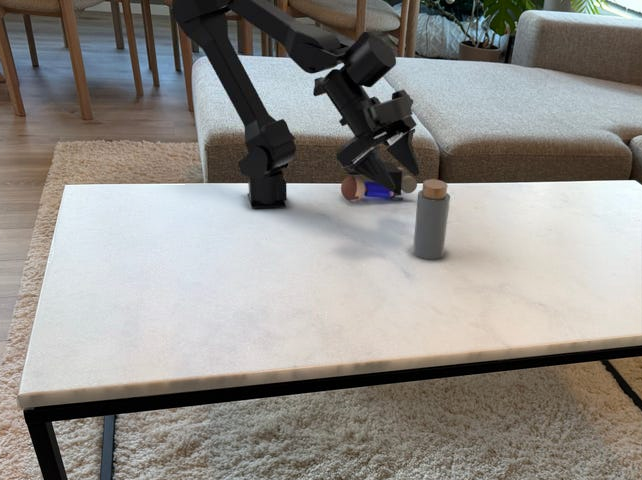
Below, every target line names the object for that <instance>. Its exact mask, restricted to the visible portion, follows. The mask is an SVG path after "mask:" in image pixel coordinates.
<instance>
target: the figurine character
mask: <svg viewBox="0 0 642 480" xmlns="http://www.w3.org/2000/svg"><path fill="white" fill-rule="evenodd" d="M382 163H383V165H384V166H385V168H386V170H387V172H388V173H389V175H390V177H391V179H392V181H393V183H394V185H395V187H396V188H395V189H394V190H393V191H389V190H388V189H386V188H384V187H383V186H381V185H379V184H378V183H376V182H374V181H368V180H367V181H363V179H361V178H360V177H358V176H363V175H362V174H360V173H358V172H356V171H354V170H350V169H349V168H350V167H351V166H352V165H353V164H354V163H353V164H351V165H350V166H348V167H346V168H344V169H343V167H342V166H341V165H340V164H339V166H340V167H341V168H342V169H343V170H344V171H345V172H346V173H347V174H348V175H349V176H347V177H346V178H344V179H343V181H342V182H341V184H340V191H341V195H342V197H344V198H345V200H347V201H349V202H358V201H360V200H362V198H364V197H365V198H383V199H384V198H385V199H390V200H399V201H401V200H404V199H405V197H402V192H403V193H405V194H412V193H414V192H415V190H416V189H417V187H418V182H417V180H416V179H415V178H414V177H413V176H411V175H409V173H408V171H407V170H406V169H404V168H403V167H401V166H400V167H399V166H398V167H397V166H396V165H395V164H394V163H392V162H382Z"/></svg>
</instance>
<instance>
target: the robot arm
mask: <svg viewBox="0 0 642 480" xmlns="http://www.w3.org/2000/svg"><path fill="white" fill-rule="evenodd" d="M170 12H171V15H172V17H173V19H174V21H175V22H176V24H177V25H178V27H179V28H180V29H181V31H182V32H183V33H184V35H185V36H186V37H187V38H188V39H189V40H191V42H193V43H194V44H195V45H197V46H198V47H199V48H201V49H202V51H203V52H204V54H205V56H206V58H207V60H208V61H209V63H210V65H211V67H212V69H213V70H214V73H215V74H216V77H217V78H218V80H219V82H220V83H221V85H222V87H223V89H224V92H225V93H226V95H227V97H228V99H229V100H230V102H231V104H232V106H233V108H234V109H235V111H236V113H237V115H238V117H239V118H240V121H241V122H242V124H243V127H244V144H245V147H246V149H247V154H246V155H244V157H243V158H242V159H241V160H240V161H239V162H238V164H237V165H238V168H239V171H240V174H241V175H243V176H246V177H247V184H248V185H247V186H248V187H247V188H248V193H247V199H248V202H249V205H250V208H251V209H274V208H275V209H276V208H277V209H278V208H280V209H281V208H286V206H287V204H286V201H287V200H288V197H287V189H288V188H287V179H286V177H285V176H284V172H283V170H287V169H289V167H290V164H291V162H292V161H293V160H294V158H295V156H296V151H297V146H296V143H295V140H296V137H295V136H294V135H293V133H292V132H291V130H290V128H289V126H288V123H287V122H286V120H285V119H284V118H281V119H278V120H276V119H275V118H274V117H273V116H271V115H270V114H269V112H268V111H267V108H266V107H265V104H264V103H263V101H262V99H261V97H260V95H259V93H258V91H257V89H256V88H255V86H254V84H253V82H252V80H251V78H250V76H249V74H248V72H247V70H246V69H245V66H244V65H243V62H242V61H241V60H240V57H239V56H238V53H237V52H236V49H235V48H234V46H233V44H232V42H231V41H230V38H229V25H228V24H229V23H228V17H227V14H228V13H231V12H233V13H235V14H236V15H237V16H238V17H240V18H242V19H243V20H245V21H246V22H248V23H249V24H251V25H252V26H254V27H255V28H257V30H259V31H261V32H263V33H264V34H265V35H267V36H269V38H272V39H273V40H274V41H275V42H277V43H279V45H281V46H282V47H283V48H284V50H285V52H286V54H287V55H288V57H289V59H291V61H293V62H294V63H295V64H296V65H297V66H298V67H299V68H300V69H301V70H302V71H304V72H305V73H307V74H318V73H320V72H324V71H327V70H330V71H328V73H327V74H326V75H325V76H320V77H317V78H314V87H313V93H312V94H313V96H314V97H319V96H322V95H324V94H326V96H327V97H328V98H329V100H330V102H331V103H332V105H333V106H334V108H335V109H336V110H337V112H338V113H339V115H340V117H341V118H340V119H339V120H338V122H339V124H340V125H341V127H345V126H347V127H348V129H349V130H350V131H351V132H352V134H353V137H352V138H351V139H349V140H348V141H347V142H346V143H345V144H344V145H342V146H341V147H340V148H339V149H338V150H337V151H336V160H337V162H338V163H339V166H340V165H341V166H342V167H343V168H342V167H341V166H340V167H341V168H342V169H343V170H344V168H346V167H348V166H350V165H351V164H353V163H354V164H353V165H352V166H351V167H350V168H349V169H350V170H354V171H356V172H358V173H360V174H362V175H361V176H364V177H366V178H367V179H369V180H371V181H372V182H376V183H378V184H379V185H381V186H383V187H384V188H386V189H388V190H389V191H393V190H394V189H395V188H396V187H395V185H394V183H393V181H392V179H391V177H390V175H389V173H388V172H387V170H386V168H385V166H384V165H383V163H384V162H383V161H382V159H381V144H382V145H384V146H386V147H387V148H386V149H385V150H386V151H387V152H388V153H389V155H391V156H392V157H393V158H394V159H395V160H396V161H397V162H398V163H399V164H400V165H401V166H403V167H404V168H405V170H406V171H407V172H409V173H410V174H412V175H413V176H414V177H418V176H419V175H420V174H421V171H420V167H419V164H418V160H417V157H416V155H415V150H414V146H413V139H414V138H413V137H414V134H415V133H416V126H417V122H416V121H415V120H414V117H413V116H412V115H413V110H412V106H413V104H414V99H412V98H411V96H410V94H408V93H407V92H406V90H405V89H400V90H397V91H394V92H392V94H391V99H389V100H386V101H383V102H381V101H380V99H379V98H378V96H377V97H376V96H372V97H370V96H369V94H368V93H367V91H366V90H365V88H364V87H366V88H372V87H373V86H374V85H376V84H377V83H378V82H379V81H380V80H381V79H382V78H383V77H384V76H385V75H386V74H388V73H389V72H390V71H391V70H392V69H393V68H394V67H395V66H396V65H397V57H396V55H395V52H394V51H393V49H392V47H391V46H390V45H389V44H387V42H385V41H384V40H383V38H382V39H381V38H380V37H379V36H376V35H375V33H374V32H373V30H371V29H369V30H365V31H363V32H362V33H360V35H359V36H358V38H357V40H355V42H354V43H353V44H352V45H349V44H347V43H345V42H343V41H340V39H339V37H337V36H336V34H334V33H332V32H330V31H328V30H326V29H324V28H322V27H320V26H316V25H313V24H308V23H305V22H302V21H301V20H297V19H296V18H294V17H293V16H291V15H290V14H288V13H287V12H285V11H284V10H283V9H281V8H279V7H278V6H277V5H275V4H273V3H272V2H271V1H269V0H172V1H171V7H170ZM342 64H343V65H342ZM339 65H342V67H340V68H339V69H338V68H336V67H338V66H339Z"/></svg>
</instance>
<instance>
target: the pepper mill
mask: <svg viewBox="0 0 642 480" xmlns="http://www.w3.org/2000/svg"><path fill="white" fill-rule="evenodd" d="M448 186H449V185H448V183H447V182H445V181H443V180H440V179H433V178H431V179H426V180H424V181H423V182H422V189H421V190H419V191H418V192H417V199H416V211H415V223H414V234H413V242H412V254H413V255H414V256H416V257H418V258H419V259H423V260H438V259H441V258H442V257H444V253H445V243H446V236H447V230H448V229H447V228H448V219H449V212H450V204H451V203H450V202H451V194H449V193H448Z"/></svg>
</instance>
